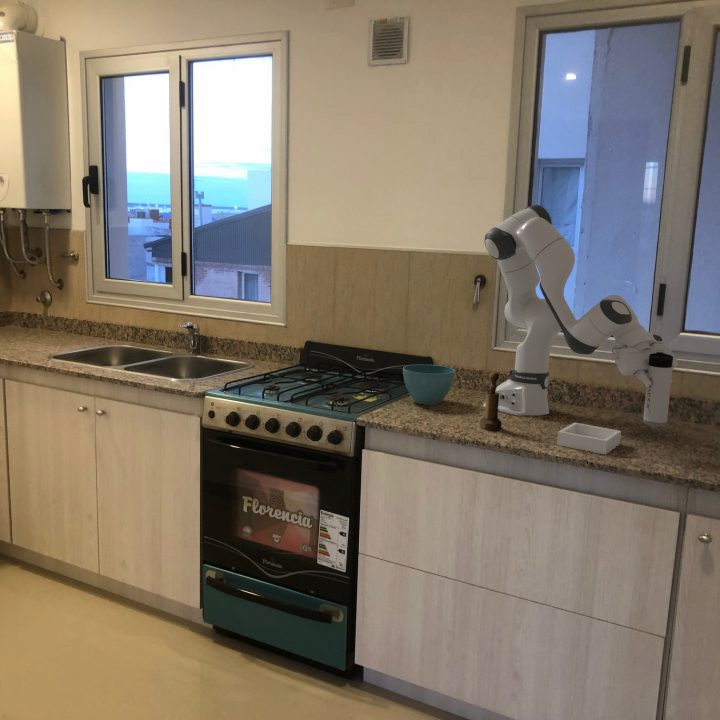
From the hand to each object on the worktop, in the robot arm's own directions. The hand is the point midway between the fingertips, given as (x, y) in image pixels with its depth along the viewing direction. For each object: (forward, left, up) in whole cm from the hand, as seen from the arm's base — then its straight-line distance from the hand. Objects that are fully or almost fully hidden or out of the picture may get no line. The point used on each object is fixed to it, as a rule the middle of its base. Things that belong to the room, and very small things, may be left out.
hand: (660, 384), depth 206 cm
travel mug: (0, +1, -12) cm, 12 cm away
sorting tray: (-17, -4, -20) cm, 27 cm away
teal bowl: (-79, +9, -20) cm, 82 cm away
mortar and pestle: (-47, -7, -20) cm, 52 cm away
